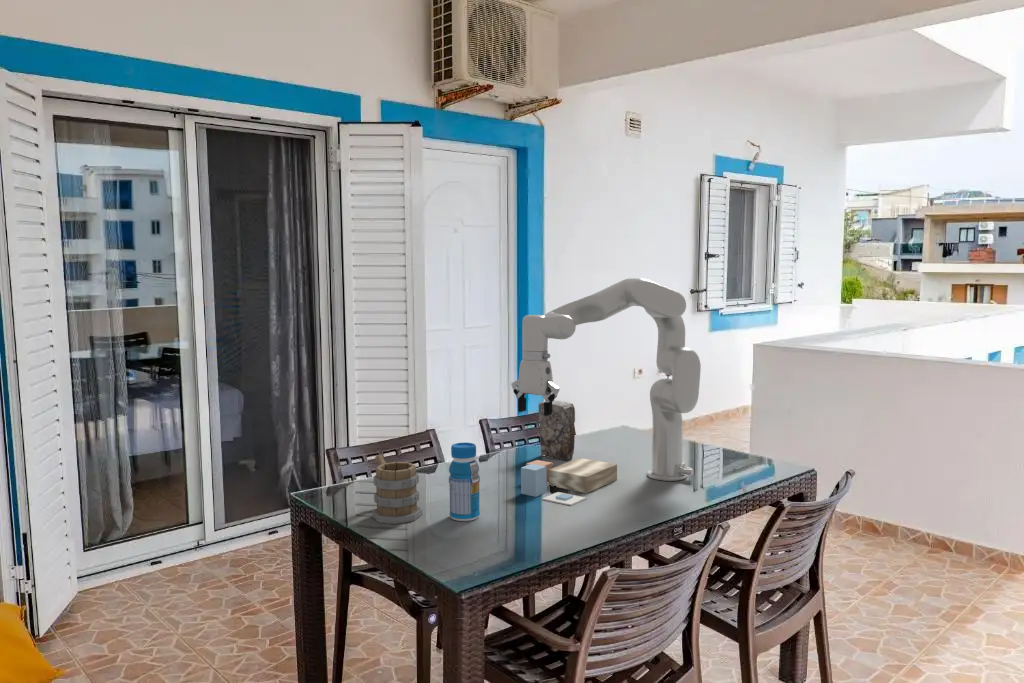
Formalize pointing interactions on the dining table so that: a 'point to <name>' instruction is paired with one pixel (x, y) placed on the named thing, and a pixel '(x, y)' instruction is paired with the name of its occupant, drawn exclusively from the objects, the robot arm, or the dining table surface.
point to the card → (564, 498)
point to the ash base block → (582, 475)
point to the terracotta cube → (542, 463)
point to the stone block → (557, 430)
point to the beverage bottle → (464, 483)
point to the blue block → (533, 480)
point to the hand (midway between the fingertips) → (534, 413)
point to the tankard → (396, 492)
